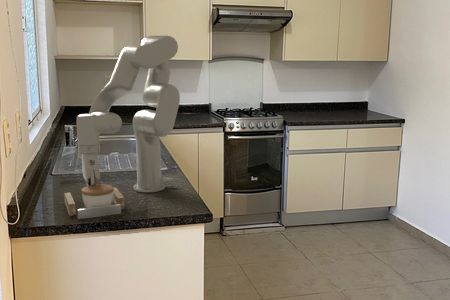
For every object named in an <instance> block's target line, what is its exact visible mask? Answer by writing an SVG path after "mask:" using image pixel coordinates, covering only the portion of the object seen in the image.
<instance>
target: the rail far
mask: <svg viewBox="0 0 450 300" xmlns="http://www.w3.org/2000/svg"><path fill="white" fill-rule="evenodd" d="M63 195H64V205H65V208H66V210H67V212H68V215H69V216H71V217H72V216H76V215H77V212H76V210H77V209H76V203H75V201H74V198H73V196H72V194H71V192H64V193H63Z"/></svg>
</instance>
